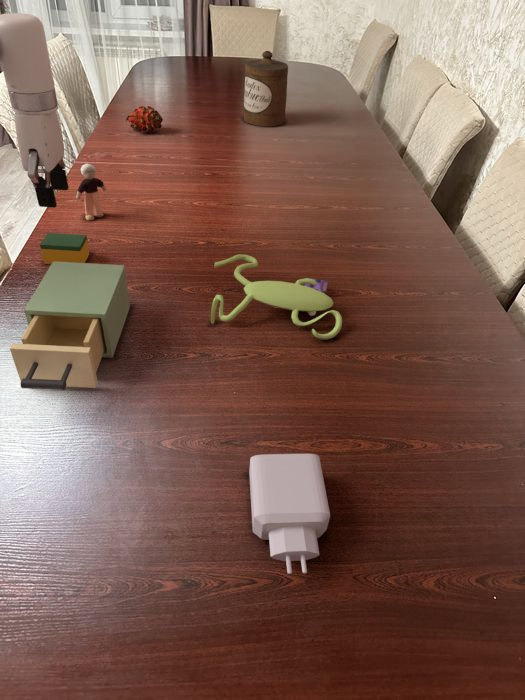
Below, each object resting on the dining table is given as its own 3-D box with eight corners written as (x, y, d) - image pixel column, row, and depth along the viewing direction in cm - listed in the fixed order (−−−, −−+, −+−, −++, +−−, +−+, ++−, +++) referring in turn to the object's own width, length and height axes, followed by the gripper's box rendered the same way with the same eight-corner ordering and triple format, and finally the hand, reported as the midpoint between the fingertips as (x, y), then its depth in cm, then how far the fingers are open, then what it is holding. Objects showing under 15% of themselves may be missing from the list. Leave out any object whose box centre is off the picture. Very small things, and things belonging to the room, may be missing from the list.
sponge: (44, 263, 108) (39, 244, 105) (51, 251, 112) (47, 232, 109) (83, 266, 108) (79, 246, 105) (89, 253, 112) (86, 234, 109)
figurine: (219, 270, 110) (219, 247, 106) (345, 289, 107) (350, 266, 104) (194, 322, 96) (193, 297, 92) (338, 346, 93) (343, 321, 90)
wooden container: (235, 118, 188) (236, 48, 173) (265, 111, 196) (269, 44, 182) (263, 129, 180) (267, 58, 166) (293, 122, 188) (299, 53, 174)
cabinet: (112, 357, 87) (105, 314, 81) (36, 354, 87) (23, 310, 81) (130, 306, 98) (124, 265, 93) (62, 303, 98) (53, 261, 92)
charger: (255, 585, 60) (249, 476, 71) (334, 582, 61) (315, 474, 72) (257, 565, 57) (250, 454, 68) (340, 562, 57) (320, 453, 69)
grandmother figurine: (89, 224, 122) (80, 170, 114) (77, 219, 123) (68, 166, 115) (113, 212, 127) (106, 160, 119) (102, 208, 128) (94, 156, 120)
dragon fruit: (166, 138, 172) (130, 141, 173) (166, 116, 174) (131, 119, 175) (159, 121, 164) (121, 124, 165) (159, 98, 166) (122, 101, 167)
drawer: (87, 411, 77) (79, 375, 72) (9, 407, 76) (-5, 371, 72) (115, 333, 91) (110, 299, 86) (49, 330, 90) (40, 295, 86)
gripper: (29, 84, 96) (49, 178, 107) (-9, 113, 83) (18, 217, 94) (70, 87, 96) (85, 180, 108) (39, 116, 83) (60, 219, 95)
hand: (54, 197), depth 101 cm, fingers open, 7 cm apart
